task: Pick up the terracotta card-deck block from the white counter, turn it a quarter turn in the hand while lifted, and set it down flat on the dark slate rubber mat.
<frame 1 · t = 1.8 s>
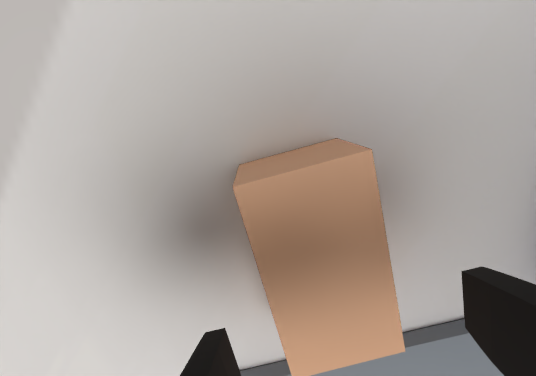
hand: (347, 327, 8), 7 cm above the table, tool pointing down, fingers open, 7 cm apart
deck block: (307, 230, 15), on the table
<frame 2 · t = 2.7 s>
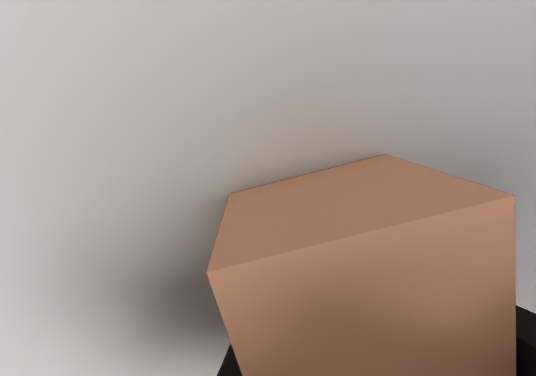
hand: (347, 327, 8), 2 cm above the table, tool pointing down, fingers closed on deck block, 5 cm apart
deck block: (332, 294, 10), on the table, touching gripper
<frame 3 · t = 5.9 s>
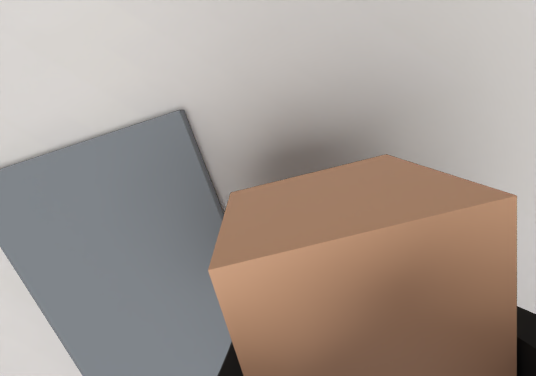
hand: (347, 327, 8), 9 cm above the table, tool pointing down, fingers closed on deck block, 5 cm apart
rubber mat: (147, 282, 18), on the table
deck block: (332, 293, 10), point 7 cm above the table, touching gripper
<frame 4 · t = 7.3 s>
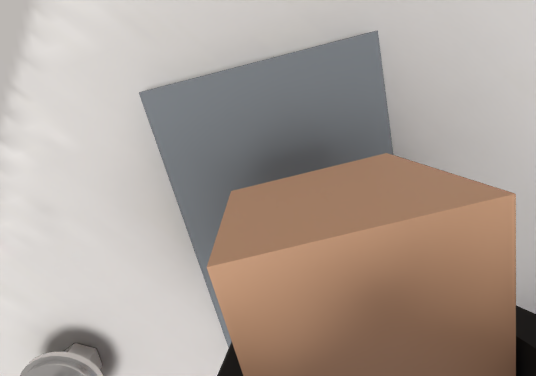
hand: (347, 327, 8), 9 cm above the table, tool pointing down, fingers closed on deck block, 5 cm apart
rubber mat: (294, 221, 17), on the table
screw: (83, 356, 19), on the table
deck block: (333, 292, 10), point 7 cm above the table, touching gripper
when the fingers open (4 cm above the table, at t = 8.8 s): deck block drops 1 cm, resting on rubber mat.
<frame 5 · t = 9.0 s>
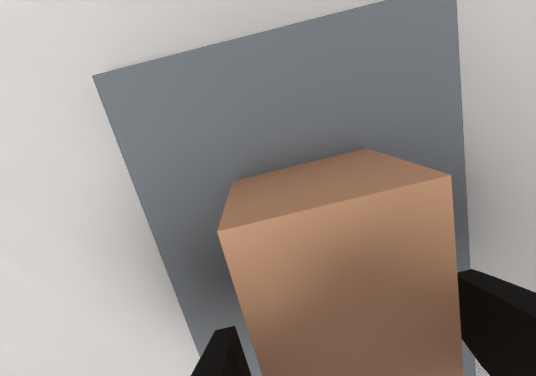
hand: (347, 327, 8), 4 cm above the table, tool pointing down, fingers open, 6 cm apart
rubber mat: (317, 258, 12), on the table
deck block: (322, 270, 11), point 1 cm above the table, touching rubber mat
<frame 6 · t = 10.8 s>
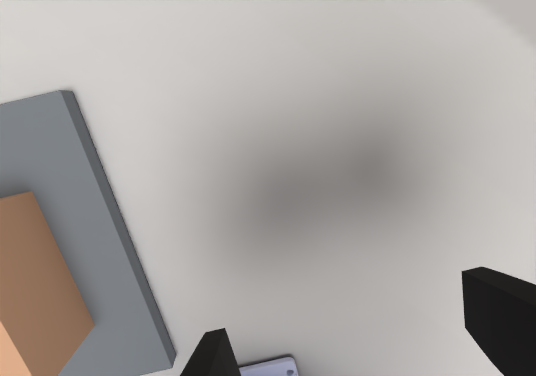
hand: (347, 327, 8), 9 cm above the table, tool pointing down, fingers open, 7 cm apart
rubber mat: (37, 263, 17), on the table
deck block: (24, 272, 16), point 1 cm above the table, touching rubber mat
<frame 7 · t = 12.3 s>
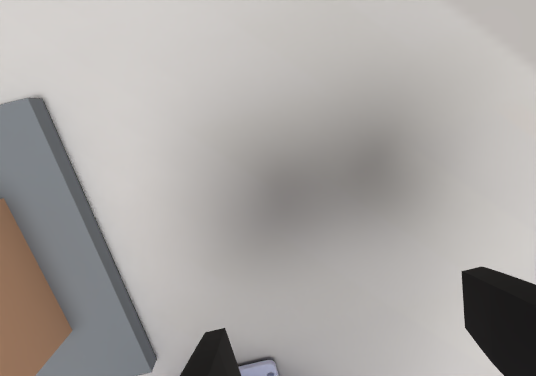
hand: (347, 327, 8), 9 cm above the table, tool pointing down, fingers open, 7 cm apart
rubber mat: (14, 269, 17), on the table
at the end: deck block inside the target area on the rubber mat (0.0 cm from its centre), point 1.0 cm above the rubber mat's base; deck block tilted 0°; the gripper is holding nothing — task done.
